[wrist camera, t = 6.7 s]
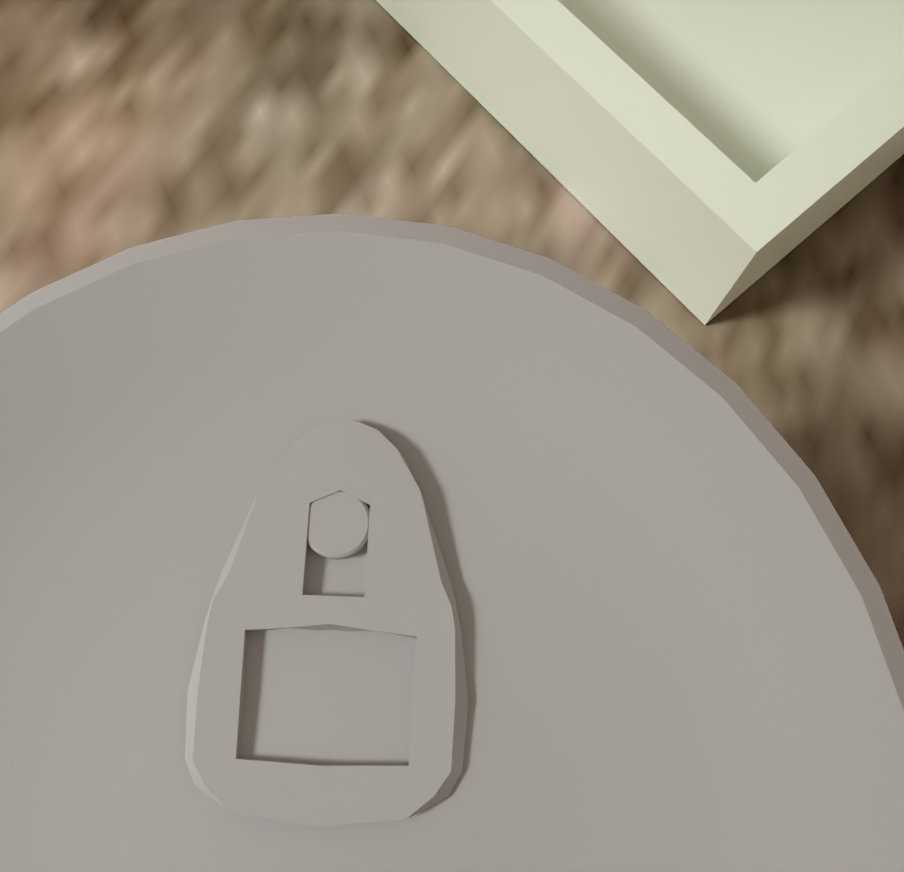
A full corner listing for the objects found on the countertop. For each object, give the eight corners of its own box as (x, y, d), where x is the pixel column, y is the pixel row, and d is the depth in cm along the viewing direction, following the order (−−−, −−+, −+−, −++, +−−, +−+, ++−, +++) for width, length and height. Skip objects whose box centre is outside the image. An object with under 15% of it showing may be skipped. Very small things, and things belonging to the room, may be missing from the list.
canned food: (555, 452, 17) (722, 94, 6) (676, 889, 15) (1246, 1520, 4) (169, 544, 16) (-388, 339, 6) (240, 1004, 14) (-405, 2035, 4)
